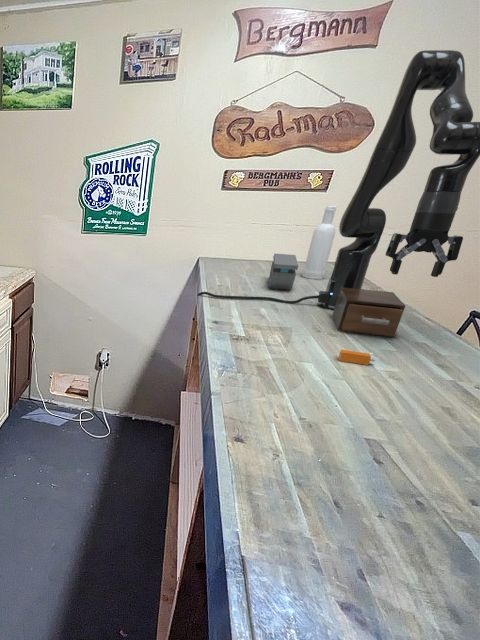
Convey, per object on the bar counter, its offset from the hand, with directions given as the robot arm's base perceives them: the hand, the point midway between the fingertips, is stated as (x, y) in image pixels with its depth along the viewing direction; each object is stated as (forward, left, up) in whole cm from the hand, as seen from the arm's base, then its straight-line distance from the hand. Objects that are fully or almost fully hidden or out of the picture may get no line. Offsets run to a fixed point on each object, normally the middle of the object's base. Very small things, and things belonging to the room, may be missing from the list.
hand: (413, 275), depth 121 cm
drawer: (-5, +10, -19) cm, 22 cm away
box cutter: (-11, -20, -19) cm, 30 cm away
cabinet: (-5, +15, -19) cm, 25 cm away
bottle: (-14, +85, -20) cm, 88 cm away
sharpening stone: (-27, +61, -20) cm, 69 cm away
